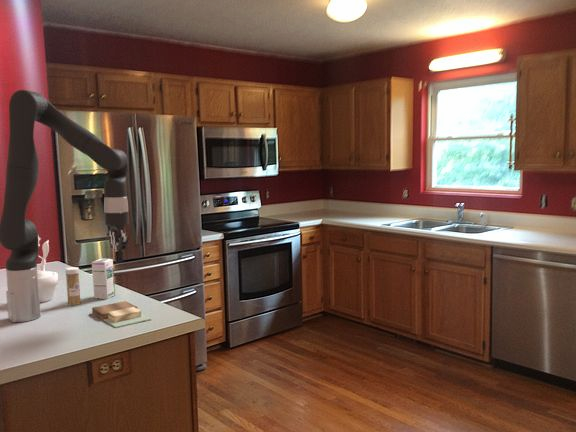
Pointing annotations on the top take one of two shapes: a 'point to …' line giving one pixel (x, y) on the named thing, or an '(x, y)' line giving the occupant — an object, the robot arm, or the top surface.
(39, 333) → the top surface
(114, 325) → the rubber mat
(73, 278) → the sprinkles bottle
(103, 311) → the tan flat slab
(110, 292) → the syrup box
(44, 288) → the potted plant
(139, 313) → the maple tile
